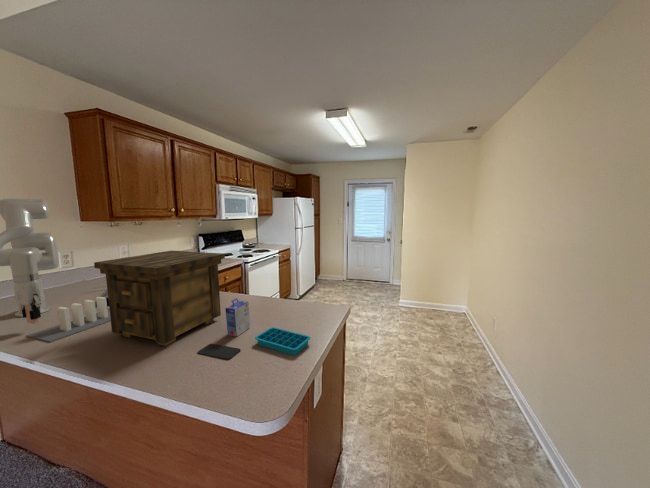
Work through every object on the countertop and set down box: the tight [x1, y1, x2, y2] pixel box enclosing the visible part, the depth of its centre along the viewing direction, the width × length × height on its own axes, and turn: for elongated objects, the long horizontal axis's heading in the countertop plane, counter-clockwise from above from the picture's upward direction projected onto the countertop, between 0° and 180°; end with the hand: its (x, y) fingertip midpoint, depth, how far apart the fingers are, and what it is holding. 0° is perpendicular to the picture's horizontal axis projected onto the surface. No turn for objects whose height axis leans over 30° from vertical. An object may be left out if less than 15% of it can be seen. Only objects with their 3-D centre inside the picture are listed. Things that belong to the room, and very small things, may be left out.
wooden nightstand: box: [93, 250, 226, 347], centre depth 118 cm, size 35×35×33 cm
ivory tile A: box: [95, 296, 108, 318], centre depth 131 cm, size 5×2×10 cm, turn 71°
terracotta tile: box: [25, 302, 39, 325], centre depth 117 cm, size 5×2×10 cm, turn 71°
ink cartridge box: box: [224, 297, 251, 337], centre depth 115 cm, size 10×6×14 cm, turn 161°
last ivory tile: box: [57, 306, 71, 331], centre depth 117 cm, size 5×2×10 cm, turn 71°
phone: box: [197, 343, 241, 361], centre depth 99 cm, size 7×1×15 cm
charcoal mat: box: [26, 308, 111, 343], centre depth 125 cm, size 17×33×1 cm, turn 161°
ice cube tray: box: [254, 326, 311, 356], centre depth 104 cm, size 12×20×3 cm, turn 62°
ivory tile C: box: [70, 302, 85, 326], centre depth 122 cm, size 5×2×10 cm, turn 71°
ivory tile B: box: [83, 299, 97, 322], centre depth 127 cm, size 5×2×10 cm, turn 71°
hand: (31, 317), depth 117 cm, fingers closed on terracotta tile, 4 cm apart
